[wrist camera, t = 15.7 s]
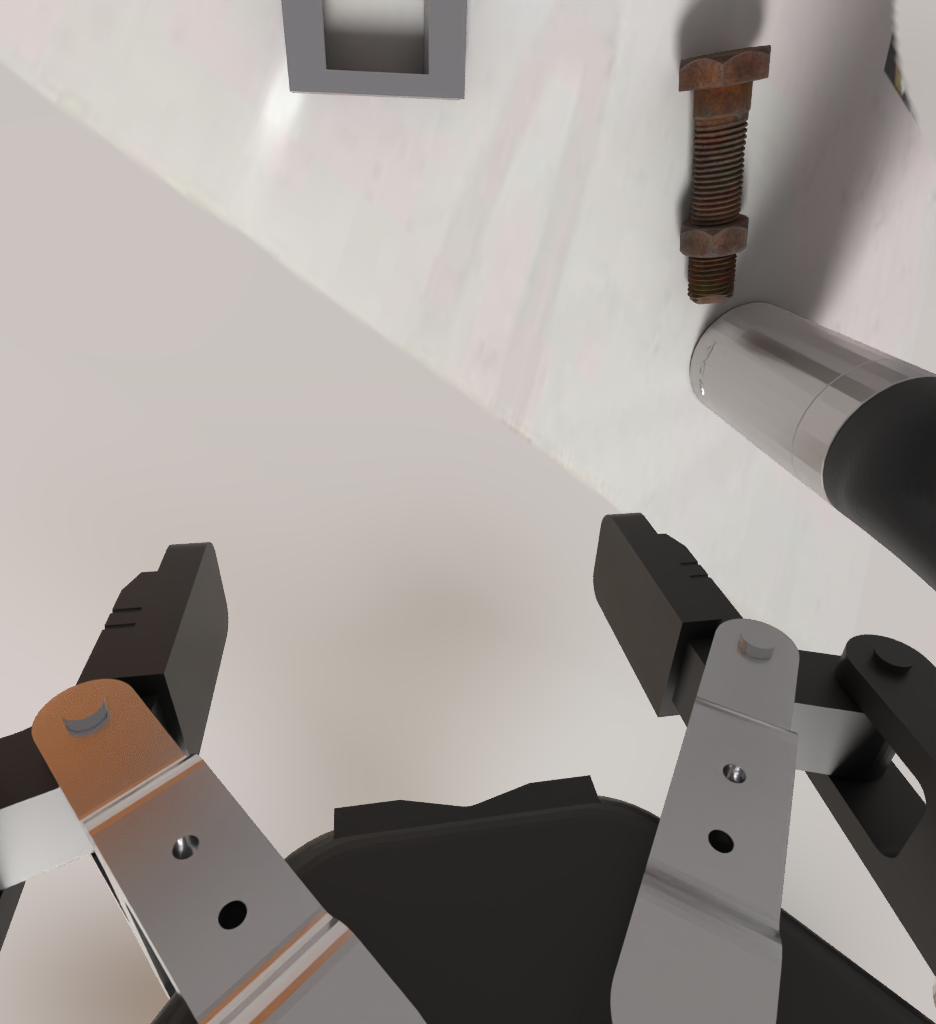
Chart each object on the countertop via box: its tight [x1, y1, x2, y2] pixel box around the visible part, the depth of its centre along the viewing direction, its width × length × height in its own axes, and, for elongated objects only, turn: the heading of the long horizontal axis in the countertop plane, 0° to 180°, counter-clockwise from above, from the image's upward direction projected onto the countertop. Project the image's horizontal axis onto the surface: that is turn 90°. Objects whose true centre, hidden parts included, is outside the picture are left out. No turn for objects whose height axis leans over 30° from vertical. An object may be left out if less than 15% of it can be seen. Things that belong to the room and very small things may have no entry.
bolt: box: [679, 45, 771, 304], centre depth 43 cm, size 6×5×15 cm
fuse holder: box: [281, 0, 467, 100], centre depth 36 cm, size 10×8×2 cm
